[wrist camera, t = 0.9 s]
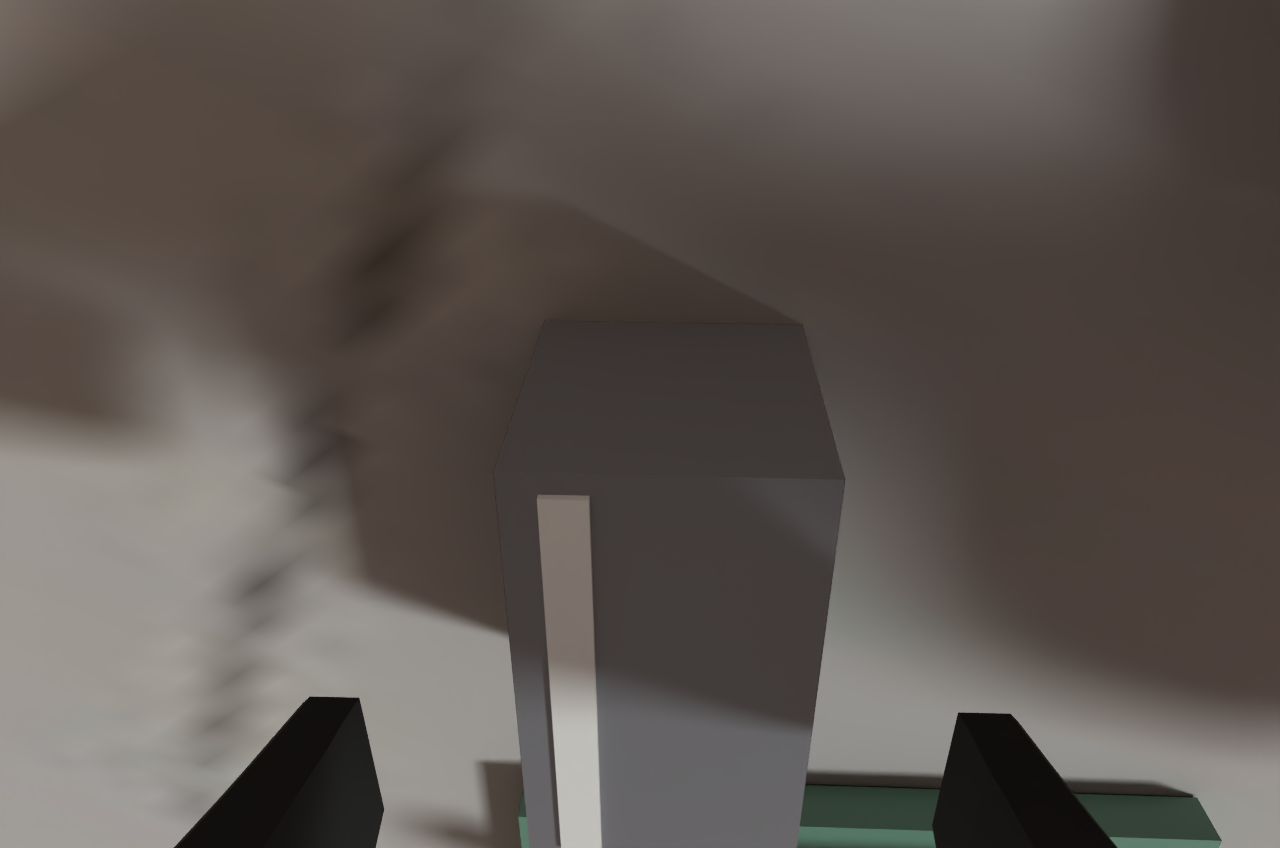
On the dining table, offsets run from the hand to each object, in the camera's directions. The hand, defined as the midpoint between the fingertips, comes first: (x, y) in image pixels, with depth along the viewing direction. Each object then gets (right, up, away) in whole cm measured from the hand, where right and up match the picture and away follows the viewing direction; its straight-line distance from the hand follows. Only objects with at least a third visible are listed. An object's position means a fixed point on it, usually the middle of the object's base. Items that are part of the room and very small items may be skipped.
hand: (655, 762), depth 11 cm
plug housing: (0, +3, +5) cm, 6 cm away
